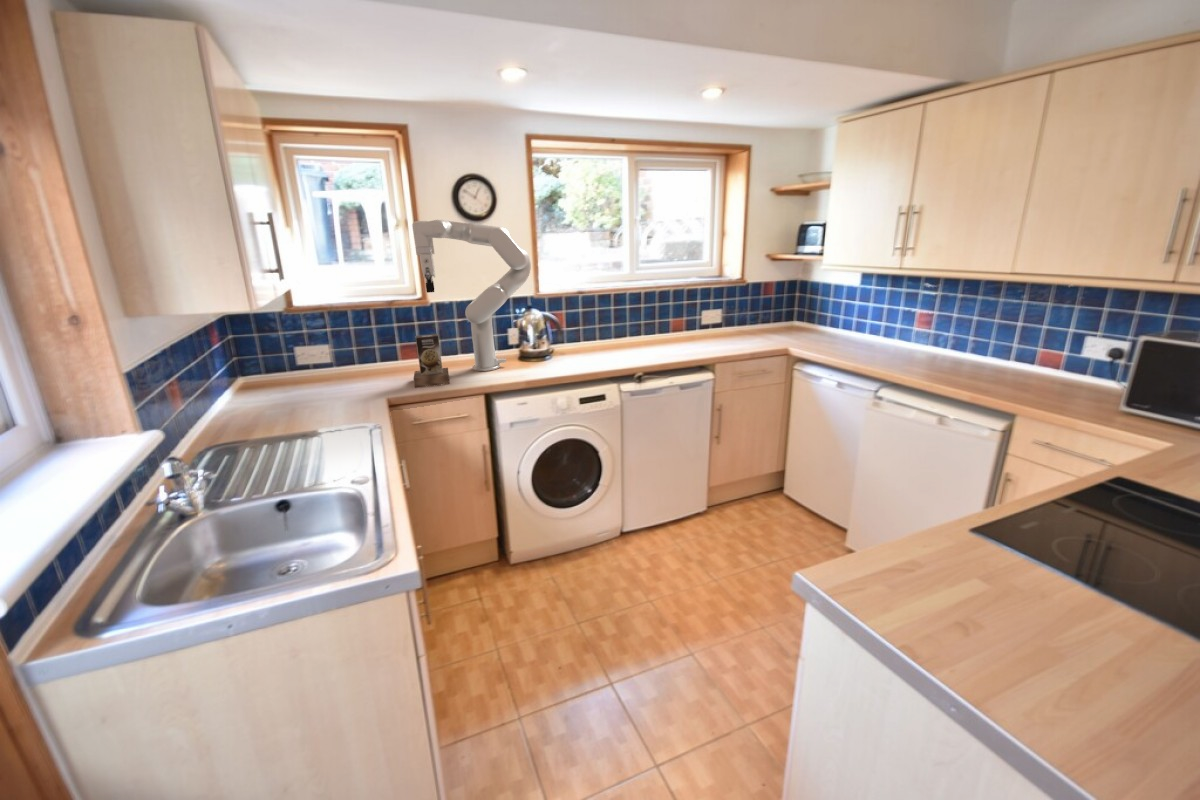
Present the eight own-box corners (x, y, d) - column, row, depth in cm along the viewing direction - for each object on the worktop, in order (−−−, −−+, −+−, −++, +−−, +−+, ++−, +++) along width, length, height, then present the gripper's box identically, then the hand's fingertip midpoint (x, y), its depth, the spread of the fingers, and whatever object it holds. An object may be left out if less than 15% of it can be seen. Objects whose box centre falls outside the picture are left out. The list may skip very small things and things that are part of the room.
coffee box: (421, 375, 222) (415, 337, 217) (420, 372, 227) (414, 335, 222) (443, 373, 225) (438, 335, 220) (442, 369, 230) (437, 333, 225)
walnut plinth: (449, 376, 235) (447, 367, 234) (449, 383, 223) (448, 374, 222) (416, 379, 231) (414, 371, 230) (415, 387, 219) (413, 378, 218)
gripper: (434, 251, 222) (439, 292, 227) (434, 250, 238) (439, 288, 243) (415, 252, 220) (421, 293, 225) (416, 251, 236) (422, 289, 241)
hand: (430, 291), depth 234 cm, fingers open, 9 cm apart
